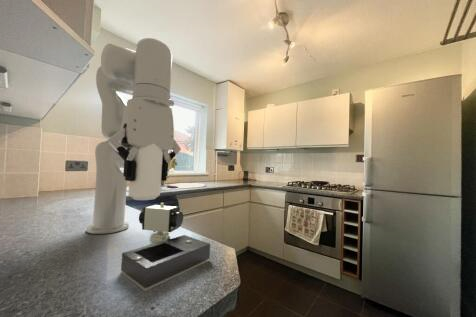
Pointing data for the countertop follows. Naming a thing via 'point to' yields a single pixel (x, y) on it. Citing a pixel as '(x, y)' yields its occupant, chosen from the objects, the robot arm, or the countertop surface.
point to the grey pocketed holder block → (163, 260)
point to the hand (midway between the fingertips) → (146, 179)
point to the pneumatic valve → (160, 221)
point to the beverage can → (147, 173)
